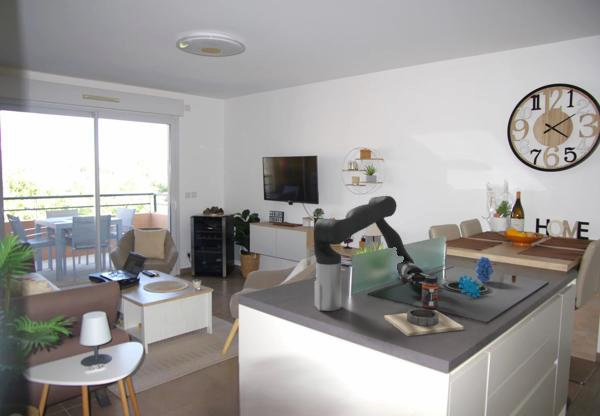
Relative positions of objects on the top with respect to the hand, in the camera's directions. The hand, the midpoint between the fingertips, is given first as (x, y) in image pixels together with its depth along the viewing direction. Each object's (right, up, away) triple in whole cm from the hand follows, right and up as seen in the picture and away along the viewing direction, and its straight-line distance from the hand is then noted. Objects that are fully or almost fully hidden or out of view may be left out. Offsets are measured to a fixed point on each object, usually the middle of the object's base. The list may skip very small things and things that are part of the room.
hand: (423, 283), depth 167 cm
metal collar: (-8, -9, -24) cm, 27 cm away
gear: (+21, -6, +6) cm, 22 cm away
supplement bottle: (0, -7, -7) cm, 10 cm away
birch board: (-8, -9, -24) cm, 27 cm away
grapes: (+34, -4, +24) cm, 42 cm away
